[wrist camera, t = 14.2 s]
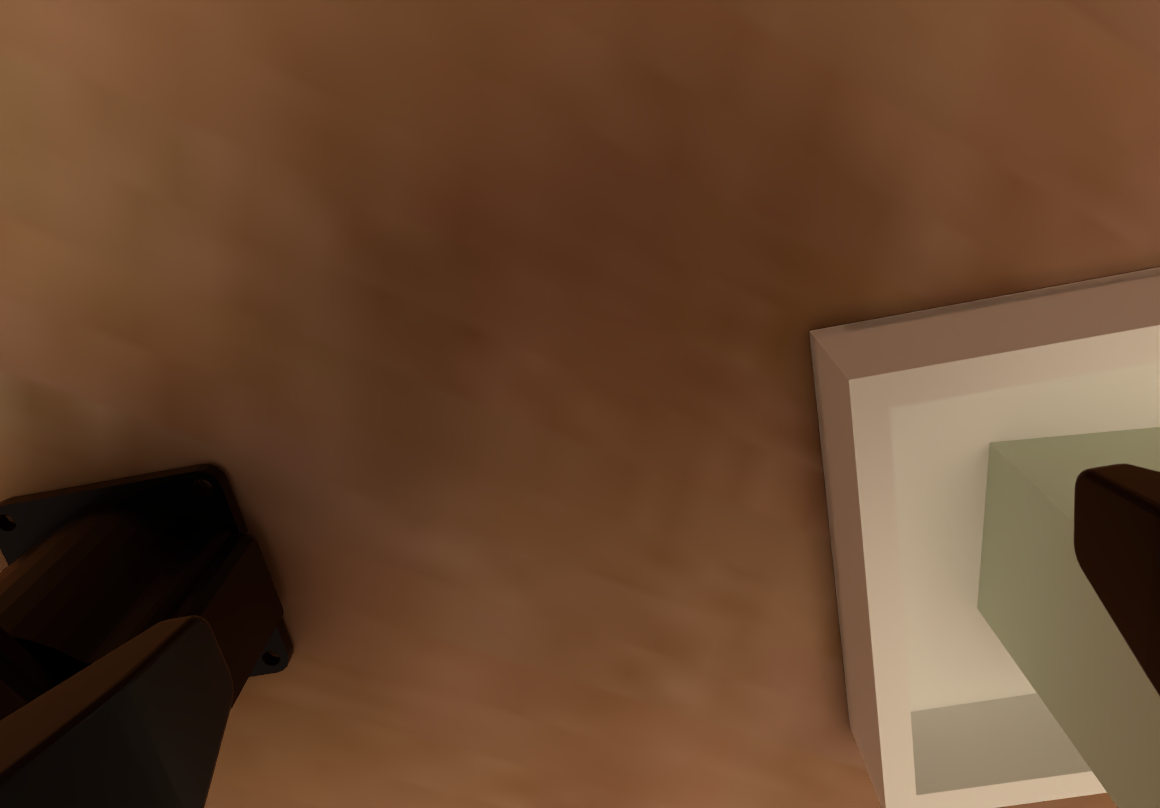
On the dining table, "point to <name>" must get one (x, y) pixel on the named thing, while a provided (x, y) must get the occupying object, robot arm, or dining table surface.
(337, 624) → the dining table surface
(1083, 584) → the pale green tall block
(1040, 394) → the box
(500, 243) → the dining table surface
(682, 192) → the dining table surface
